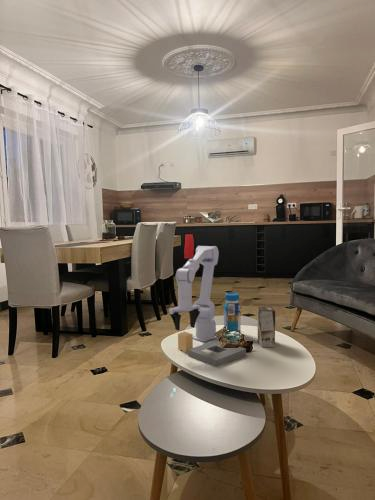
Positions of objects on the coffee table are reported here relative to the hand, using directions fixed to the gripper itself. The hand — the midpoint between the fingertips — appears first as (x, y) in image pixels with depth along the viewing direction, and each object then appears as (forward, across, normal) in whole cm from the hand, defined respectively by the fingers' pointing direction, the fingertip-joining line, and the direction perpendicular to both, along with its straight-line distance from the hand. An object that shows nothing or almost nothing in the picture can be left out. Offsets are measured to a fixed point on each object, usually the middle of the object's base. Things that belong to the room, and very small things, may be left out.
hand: (185, 328), depth 152 cm
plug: (+10, +2, +3) cm, 11 cm away
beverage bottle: (+10, +33, +7) cm, 35 cm away
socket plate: (+10, +9, -10) cm, 17 cm away
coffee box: (+10, +36, -13) cm, 39 cm away
